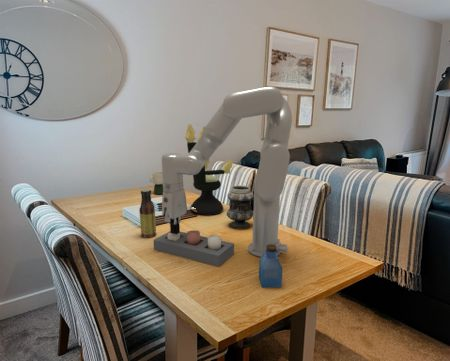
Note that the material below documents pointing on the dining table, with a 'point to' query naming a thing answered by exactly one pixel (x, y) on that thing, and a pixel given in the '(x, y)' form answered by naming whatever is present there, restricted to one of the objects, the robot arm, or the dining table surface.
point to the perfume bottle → (270, 268)
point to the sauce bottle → (147, 215)
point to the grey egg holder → (194, 249)
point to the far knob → (173, 236)
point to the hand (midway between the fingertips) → (175, 233)
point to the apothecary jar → (240, 206)
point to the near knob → (214, 242)
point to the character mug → (157, 182)
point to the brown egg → (193, 237)
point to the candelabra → (206, 181)
